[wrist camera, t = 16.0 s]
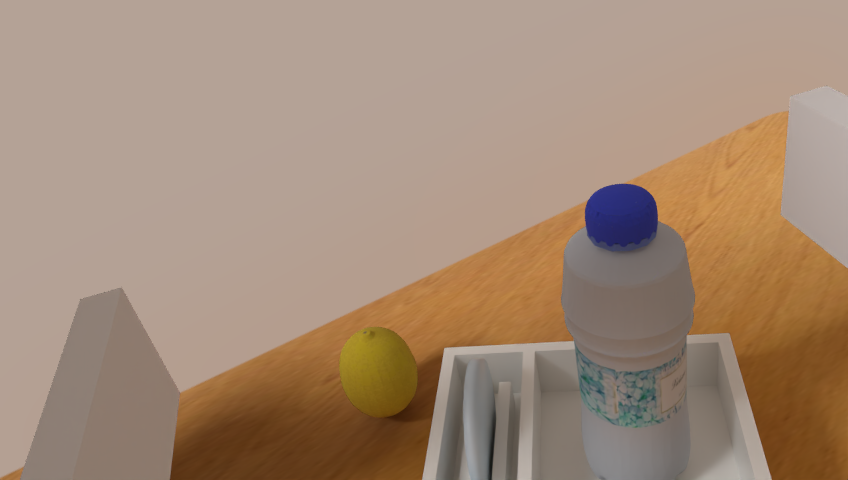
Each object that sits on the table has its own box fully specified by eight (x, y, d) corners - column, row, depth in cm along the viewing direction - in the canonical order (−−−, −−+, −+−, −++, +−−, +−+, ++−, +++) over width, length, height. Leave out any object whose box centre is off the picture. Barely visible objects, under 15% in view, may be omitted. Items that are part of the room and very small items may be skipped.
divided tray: (433, 575, 43) (399, 477, 38) (457, 398, 55) (433, 304, 50) (778, 583, 39) (791, 473, 34) (726, 388, 50) (731, 285, 45)
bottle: (683, 523, 41) (680, 239, 30) (569, 493, 45) (529, 225, 34) (702, 434, 46) (706, 159, 35) (597, 412, 49) (571, 153, 38)
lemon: (391, 374, 58) (366, 297, 54) (441, 401, 55) (420, 322, 50) (341, 419, 55) (310, 342, 51) (391, 452, 52) (363, 371, 47)
